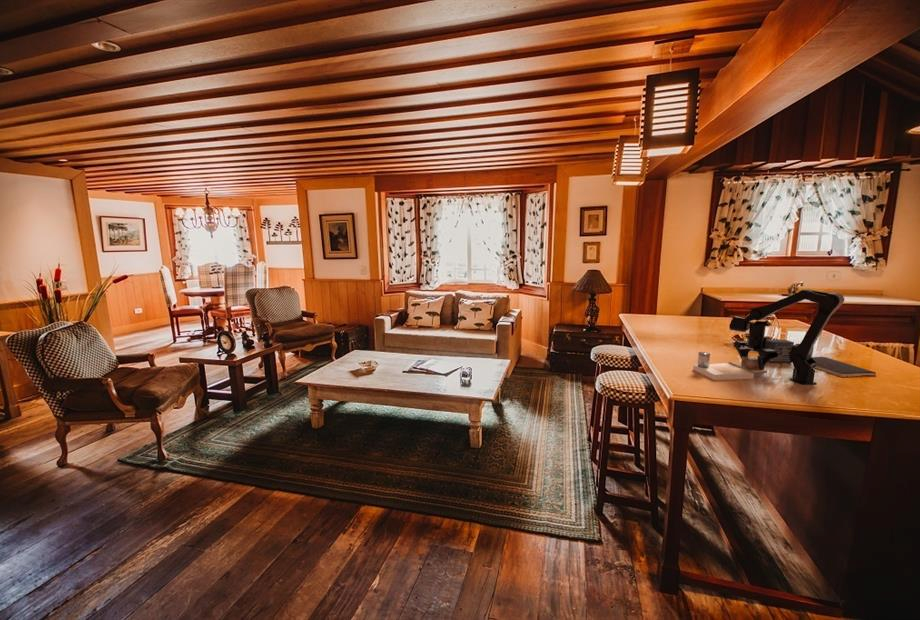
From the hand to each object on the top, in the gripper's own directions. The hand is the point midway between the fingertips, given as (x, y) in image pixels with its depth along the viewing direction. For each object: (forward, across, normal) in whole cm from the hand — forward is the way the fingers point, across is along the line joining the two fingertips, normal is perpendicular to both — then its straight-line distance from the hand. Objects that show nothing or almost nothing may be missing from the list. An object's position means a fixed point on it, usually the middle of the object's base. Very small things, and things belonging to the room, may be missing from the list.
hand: (752, 366), depth 179 cm
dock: (+2, -3, +17) cm, 17 cm away
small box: (+2, +12, -23) cm, 26 cm away
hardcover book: (+3, -1, -39) cm, 39 cm away
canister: (-1, +1, +24) cm, 24 cm away
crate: (+2, 0, 0) cm, 2 cm away
